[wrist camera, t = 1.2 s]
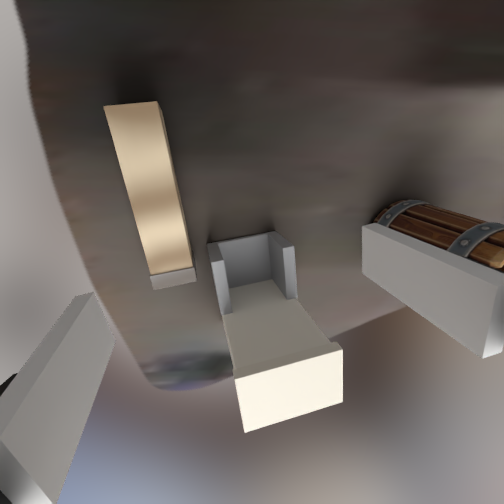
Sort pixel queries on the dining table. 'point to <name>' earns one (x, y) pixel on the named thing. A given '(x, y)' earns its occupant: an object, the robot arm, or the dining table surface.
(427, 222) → the mug
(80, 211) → the dining table surface
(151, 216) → the rail
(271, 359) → the u-notched block
